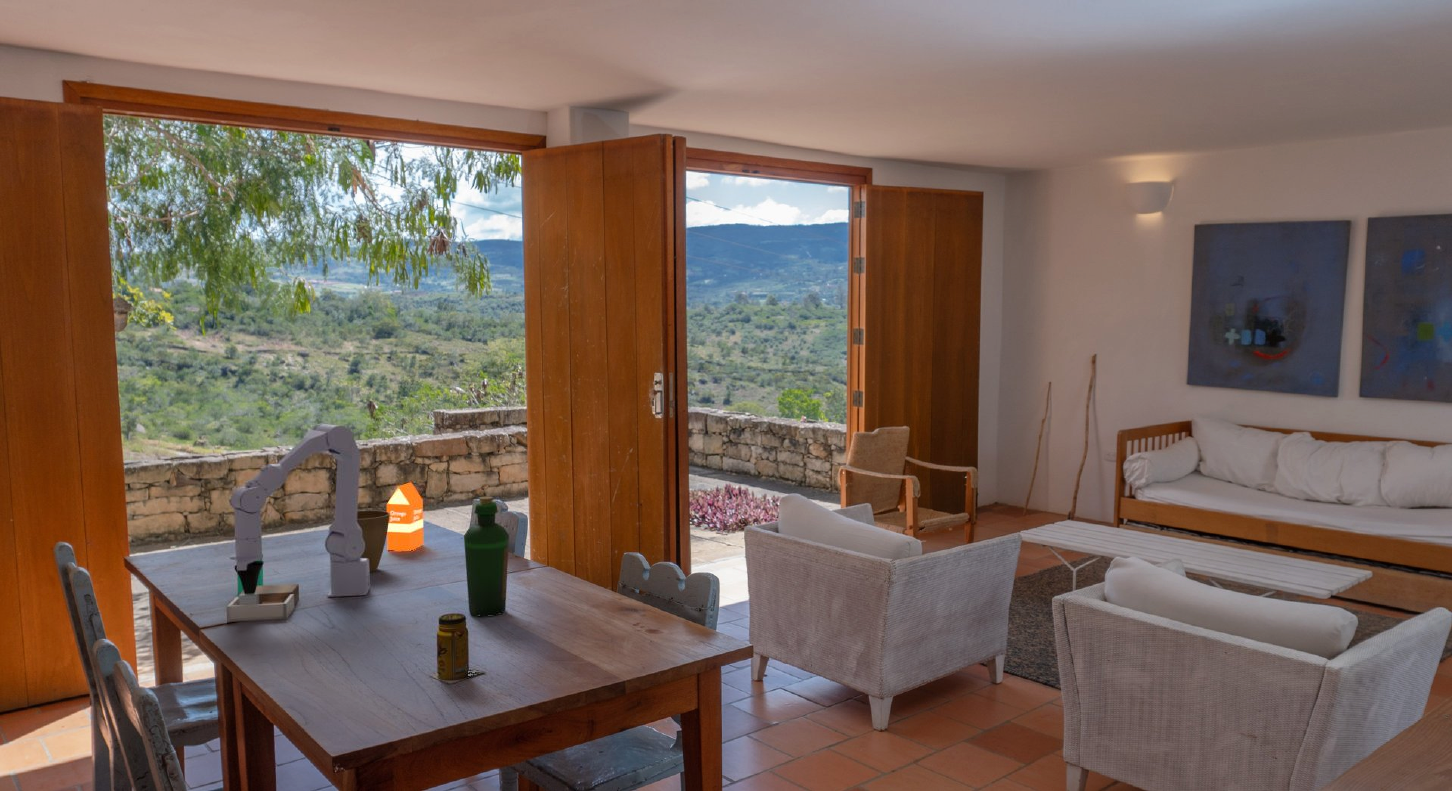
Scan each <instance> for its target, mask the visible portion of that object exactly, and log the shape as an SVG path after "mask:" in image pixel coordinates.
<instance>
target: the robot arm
mask: <svg viewBox="0 0 1452 791" xmlns="http://www.w3.org/2000/svg"><path fill="white" fill-rule="evenodd" d="M359 449H360V448H359V447H358V445H357V443H356V441H355V433H354V432H353V431H352V430H351V429H349V428H348V427H347V426H346V425H345V426H344V425H341V424H340V425H339V424H337V425H335V424H328V423H326V422H322V423H318V424H316V425H314V427H313V428H312V429H310V430H309V431H307V432H306V433H305V435H304V437H303V438H302V439H300V441H298V443H297V444H296V445H295V446H293V447H292V448H291V450H290V451H289V452H288V453H287V454H285V455H284V456H283V457H282V458H281V460H279V461H278V462H277V463H269V464H267V465H262V467H260V469H259V470H260V471H259V472H258V473H257V474H255V475H254V476H253V477H252V479H250V480H249V479H248V480H247V481H244V482H245V483H244V484H245V486H239V487H237V488H236V489H235V490H233V492H232V494H231V496H230V498H229V499H228V501H229V506H231V507H232V509H234V511H233V512H234V540H235V541H234V543H235V544H234V545H235V546H234V547H235V548H234V549H235V554H232V555H231V556H229V558H230V560H231V561H232V560H234V561H235V562H236V565H234V571H235V572H236V575H237V574H238V575H239V577H240V580H241V583H242V587H243V590H244V593H245V594H254V593H255V591H256V587H257V581H258V576H259V573H260V570H261V568H262V566H263V567H264V561H257V560H259V559H262V558H264V554H263V540H262V539H263V538H262V536H263V535H262V534H263V533H262V509H264V507H265V505H266V501H267V499H268V498H269V497H270V496H271V495H273V494H274V493H275V492H276V491H277V490H278V489H279V488H280V487H281V486H283V484H285V483H286V482H287V480H288V473H290V472H291V471H292V470H294V469H295V468H296V467H298V466H299V465H300V464H302V463H303V462H304V461H305V460H306V459H308V458H309V457H310V456H311V455H313V454H316V453H322V452H327V453H329V454H330V455H331V456H332V457H333V458H334V459H335V460H336V461H337V462H336V464H337V467H336V484H335V501H334V502H335V504H334V516H335V519H334V518H333V522H332V523H331V524H330V525H329V527H328V534H327V537H326V538H325V541H324V547H325V551H326V552H327V553H329V560H330V561H329V562H330V563H329V565H330V568H329V569H330V572H329V573H330V590H329V592H328V593H327V595H326V597H327V598H331V597H332V598H333V597H352V596H366V595H367V594H368V592H369V590H370V588H371V580H370V576H371V574H370V573H371V572H369V559H368V558H361V555H362V554H363V552H364V550H365V542H364V540H363V537H362V529H361V527H360V526H359V524H358V523H357V511H358V506H359V505H358V504H359V491H360V490H359V486H360V470H361V469H360V468H361V451H360V450H359Z"/></svg>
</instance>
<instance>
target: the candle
mask: <svg viewBox="0 0 1452 791" xmlns="http://www.w3.org/2000/svg"><path fill="white" fill-rule="evenodd" d="M263 558H264V557H263ZM263 558H262V559H259V560H257V561H263ZM263 562H264V561H263ZM263 567H264V565H263V566H262V568H261V570H260V573H259V576H258V581H257V586H264V568H263ZM236 575H237V577H236V578H237V579H236V580H237V595H238V596H239V594H240V593H241V592H242V591H243V587H242V583H241V580H240V577H239V575H238V574H237V573H236Z"/></svg>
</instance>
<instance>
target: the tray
mask: <svg viewBox="0 0 1452 791" xmlns="http://www.w3.org/2000/svg"><path fill="white" fill-rule="evenodd" d="M294 610H295V606H294V594H290V596H289V597H288V598H287V599H286V601H285V602H284V603H274V604H253V605H239V596H235V597H234V599H233V600H231V601H230V603H229V604H228V605H227V606H226V622H227V623H233V622H251V621H269V620H270V621H271V620H287V619H288V618H289V617H290V615H291V614H292V612H293V611H294Z"/></svg>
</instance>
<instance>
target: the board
mask: <svg viewBox="0 0 1452 791" xmlns="http://www.w3.org/2000/svg"><path fill="white" fill-rule="evenodd" d="M299 585H300V584H299V583H293V584H273V585H271V584H269V585H268V584H265V585H263V586H257V587H256V591H255V593H259V604H262V602H275V601H281V602H283V603H284V602H285V601H286V599H287V598H288V597H289V596H290V594H294V607H295V606H296V604H298V601H299V600H300V589H299V588H300V586H299ZM240 594H245V593H244V590H243V591H242V592H241V593H240ZM240 594H239V595H240ZM239 595H238V596H239Z"/></svg>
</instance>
